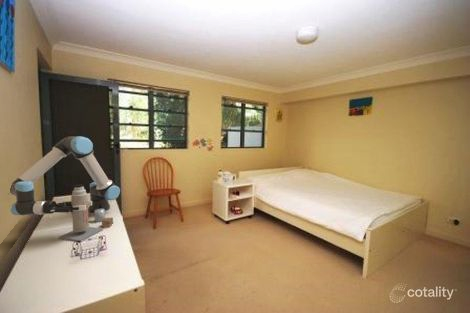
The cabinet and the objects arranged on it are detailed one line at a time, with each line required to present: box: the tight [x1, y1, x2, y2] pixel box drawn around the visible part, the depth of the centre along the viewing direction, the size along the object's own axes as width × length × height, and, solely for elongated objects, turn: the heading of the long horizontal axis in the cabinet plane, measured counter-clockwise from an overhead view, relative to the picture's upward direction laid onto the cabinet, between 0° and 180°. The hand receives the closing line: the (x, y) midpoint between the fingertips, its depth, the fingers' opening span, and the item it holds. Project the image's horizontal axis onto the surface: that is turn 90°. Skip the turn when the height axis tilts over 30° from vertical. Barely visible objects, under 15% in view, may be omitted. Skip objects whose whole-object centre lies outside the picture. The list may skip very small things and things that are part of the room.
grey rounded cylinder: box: [94, 209, 106, 223], centre depth 154 cm, size 6×6×8 cm
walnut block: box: [101, 217, 114, 229], centre depth 146 cm, size 5×5×5 cm
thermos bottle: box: [70, 183, 90, 232], centre depth 132 cm, size 8×8×28 cm
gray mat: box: [58, 226, 104, 242], centre depth 134 cm, size 16×16×1 cm
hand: (88, 205), depth 133 cm, fingers closed on thermos bottle, 8 cm apart
